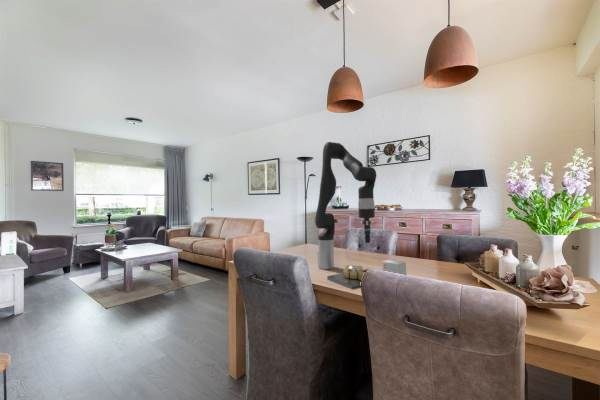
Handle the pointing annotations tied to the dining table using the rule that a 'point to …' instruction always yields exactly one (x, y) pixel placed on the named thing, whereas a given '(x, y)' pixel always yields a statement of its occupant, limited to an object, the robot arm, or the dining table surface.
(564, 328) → the dining table surface
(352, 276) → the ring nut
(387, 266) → the small box
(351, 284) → the nut base plate
